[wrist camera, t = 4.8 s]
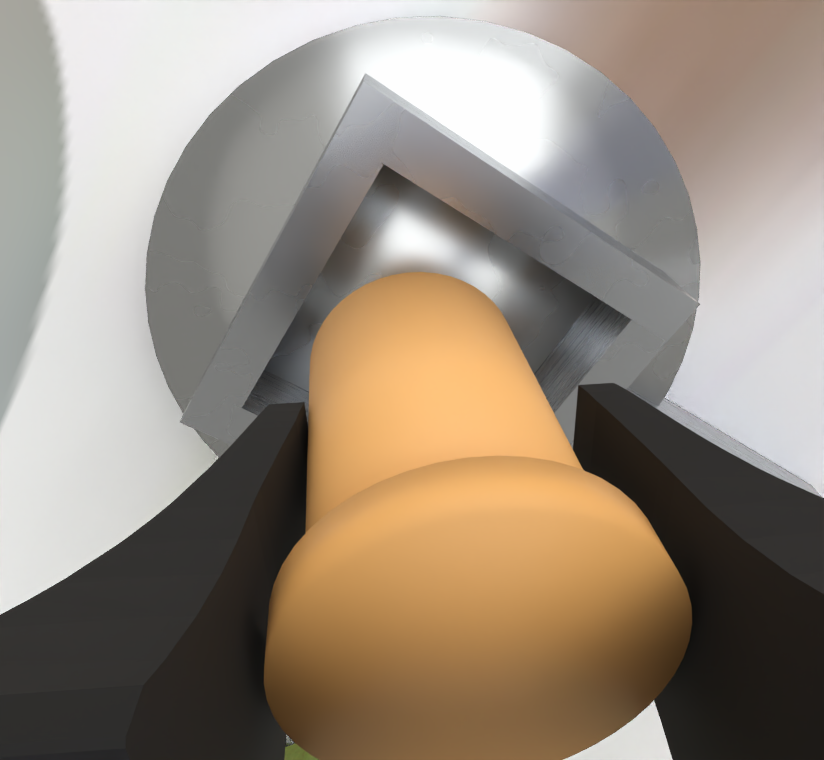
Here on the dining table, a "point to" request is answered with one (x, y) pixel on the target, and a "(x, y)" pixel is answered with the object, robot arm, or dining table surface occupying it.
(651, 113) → the dining table surface
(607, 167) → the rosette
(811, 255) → the dining table surface
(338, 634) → the pin
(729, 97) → the dining table surface
